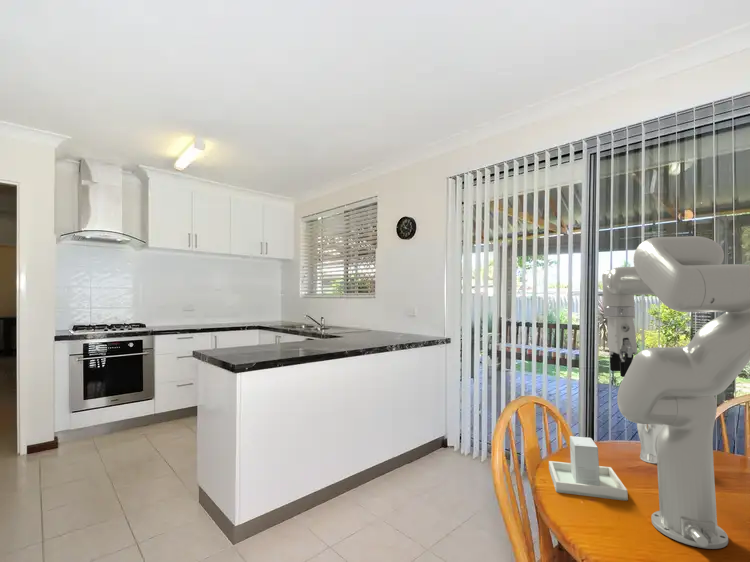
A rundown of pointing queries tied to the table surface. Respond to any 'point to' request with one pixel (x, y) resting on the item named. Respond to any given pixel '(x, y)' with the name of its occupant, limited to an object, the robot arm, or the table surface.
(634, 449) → the table surface
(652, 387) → the robot arm
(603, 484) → the carrier tray
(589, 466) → the small box
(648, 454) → the beer glass
